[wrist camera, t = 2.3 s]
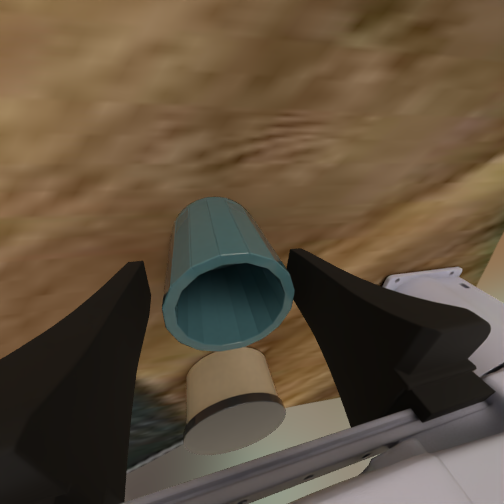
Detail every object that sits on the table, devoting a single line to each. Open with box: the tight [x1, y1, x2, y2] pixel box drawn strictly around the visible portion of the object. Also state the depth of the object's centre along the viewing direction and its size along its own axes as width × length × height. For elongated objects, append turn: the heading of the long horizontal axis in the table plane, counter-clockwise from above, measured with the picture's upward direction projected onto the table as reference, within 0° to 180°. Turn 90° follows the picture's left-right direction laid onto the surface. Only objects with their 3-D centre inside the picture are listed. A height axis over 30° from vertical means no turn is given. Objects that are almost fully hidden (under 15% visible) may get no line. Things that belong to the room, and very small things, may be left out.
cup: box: [162, 197, 295, 352], centre depth 12 cm, size 5×5×6 cm
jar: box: [183, 347, 286, 455], centre depth 21 cm, size 9×9×5 cm
